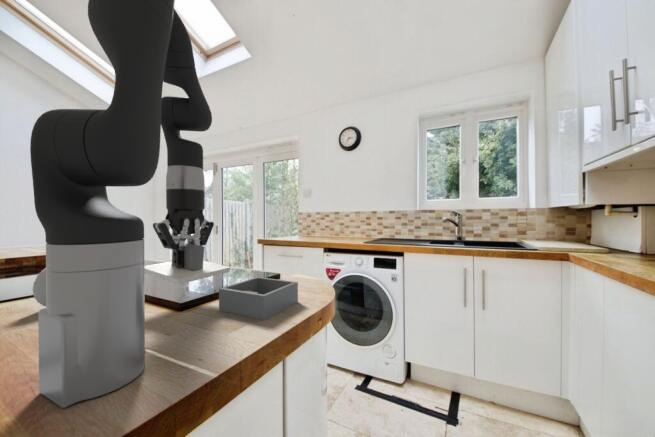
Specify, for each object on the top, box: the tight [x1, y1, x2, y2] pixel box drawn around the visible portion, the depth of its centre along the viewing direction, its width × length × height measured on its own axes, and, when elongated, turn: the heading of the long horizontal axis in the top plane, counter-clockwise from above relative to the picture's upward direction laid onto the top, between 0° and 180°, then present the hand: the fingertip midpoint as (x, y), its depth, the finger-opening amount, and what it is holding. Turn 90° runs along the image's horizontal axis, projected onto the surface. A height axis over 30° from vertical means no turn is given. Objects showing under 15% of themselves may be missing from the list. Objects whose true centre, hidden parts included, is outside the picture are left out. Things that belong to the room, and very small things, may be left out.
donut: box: [32, 267, 46, 307], centre depth 60 cm, size 10×4×10 cm, turn 179°
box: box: [218, 276, 299, 321], centre depth 59 cm, size 12×12×5 cm
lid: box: [144, 242, 231, 285], centre depth 59 cm, size 13×13×7 cm
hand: (186, 266), depth 59 cm, fingers closed on lid, 2 cm apart
